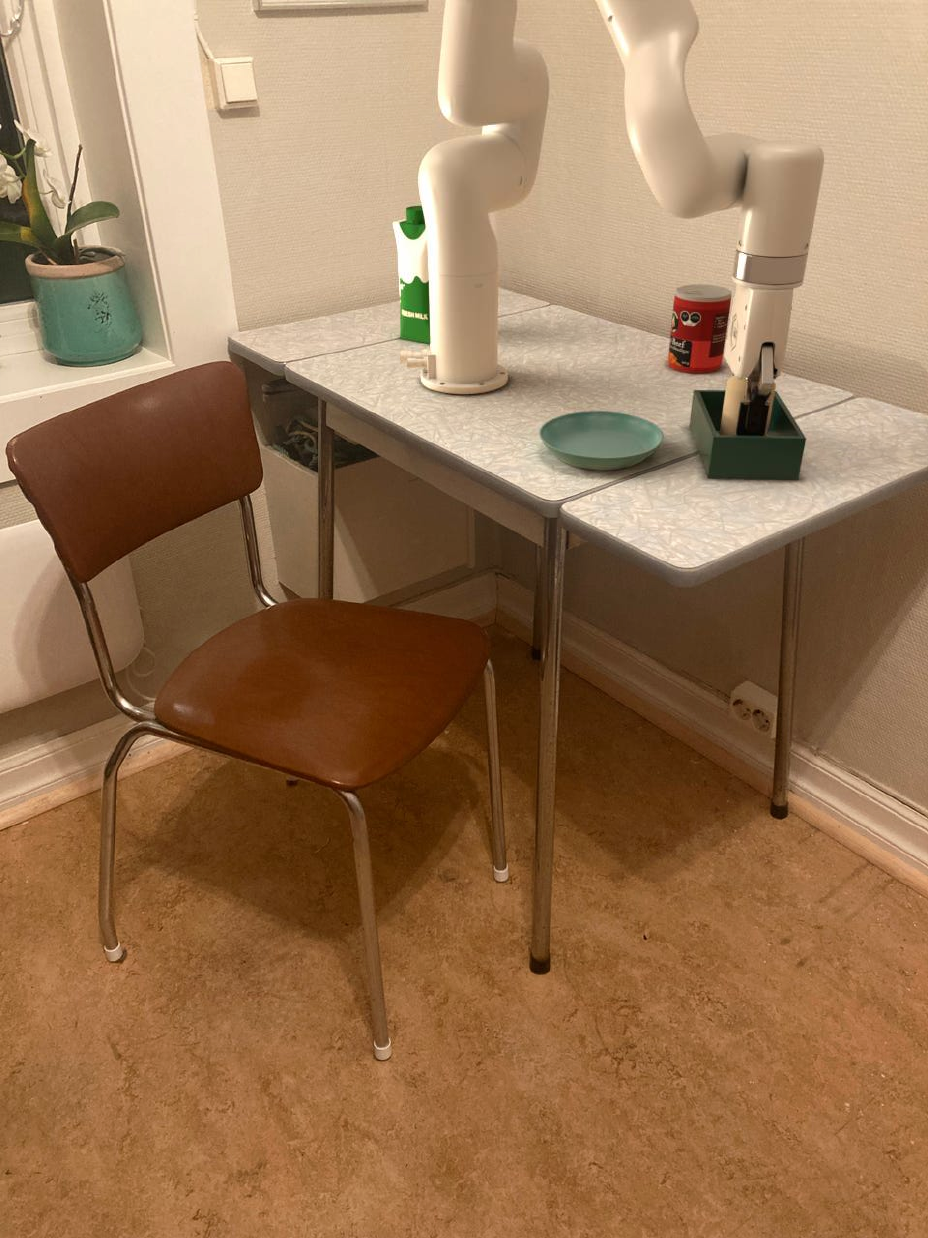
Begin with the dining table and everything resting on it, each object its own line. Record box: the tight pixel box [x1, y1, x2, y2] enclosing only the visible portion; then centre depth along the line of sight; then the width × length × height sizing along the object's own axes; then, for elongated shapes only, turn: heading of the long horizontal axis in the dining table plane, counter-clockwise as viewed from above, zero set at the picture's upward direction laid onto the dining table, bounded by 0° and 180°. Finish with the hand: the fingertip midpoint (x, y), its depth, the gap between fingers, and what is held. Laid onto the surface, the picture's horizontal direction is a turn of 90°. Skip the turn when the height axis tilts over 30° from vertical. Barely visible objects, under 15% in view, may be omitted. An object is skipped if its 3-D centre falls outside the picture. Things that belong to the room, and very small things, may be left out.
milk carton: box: [392, 205, 431, 345], centre depth 153 cm, size 9×9×20 cm
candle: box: [719, 371, 777, 436], centre depth 113 cm, size 6×6×10 cm
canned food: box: [667, 283, 732, 374], centre depth 141 cm, size 8×8×11 cm
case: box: [688, 389, 807, 481], centre depth 115 cm, size 10×16×5 cm, turn 176°
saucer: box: [538, 410, 664, 471], centre depth 115 cm, size 15×15×3 cm
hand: (744, 424), depth 114 cm, fingers closed on candle, 5 cm apart
